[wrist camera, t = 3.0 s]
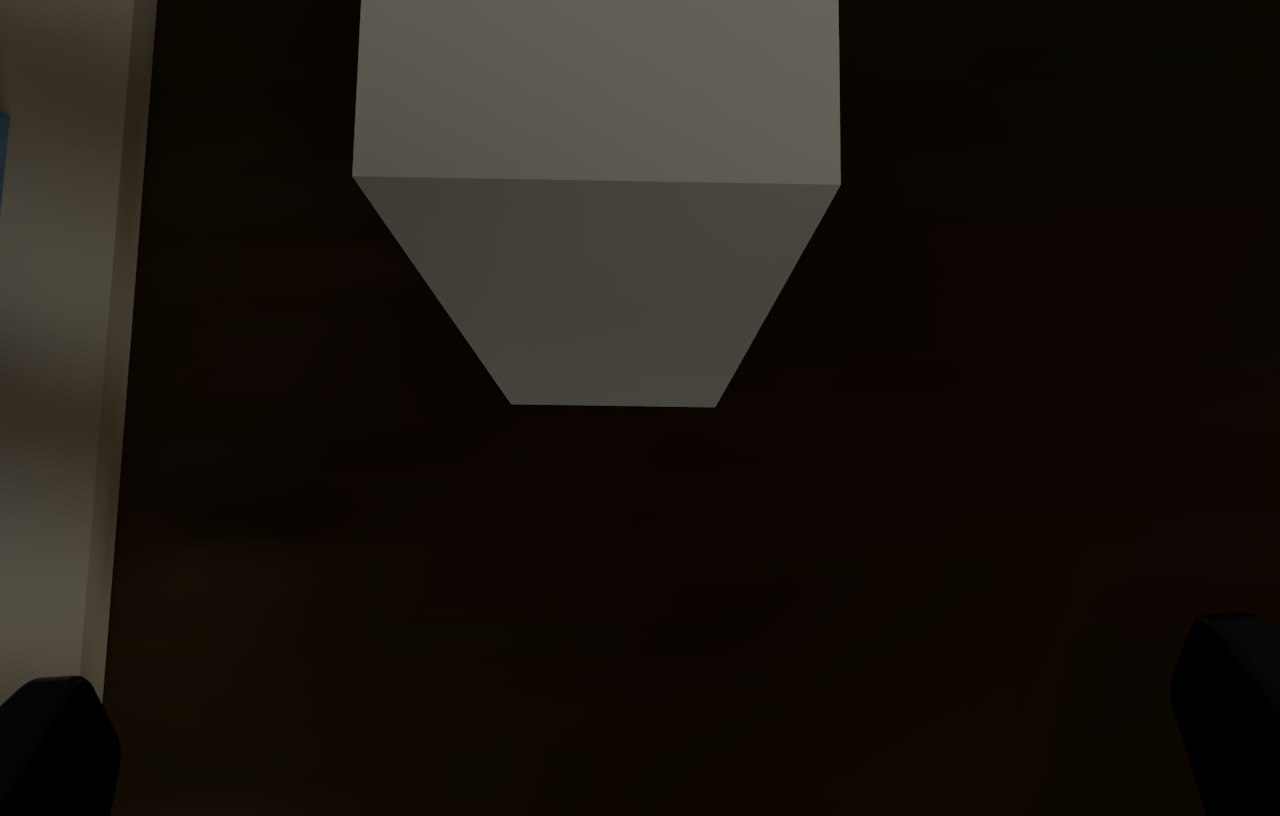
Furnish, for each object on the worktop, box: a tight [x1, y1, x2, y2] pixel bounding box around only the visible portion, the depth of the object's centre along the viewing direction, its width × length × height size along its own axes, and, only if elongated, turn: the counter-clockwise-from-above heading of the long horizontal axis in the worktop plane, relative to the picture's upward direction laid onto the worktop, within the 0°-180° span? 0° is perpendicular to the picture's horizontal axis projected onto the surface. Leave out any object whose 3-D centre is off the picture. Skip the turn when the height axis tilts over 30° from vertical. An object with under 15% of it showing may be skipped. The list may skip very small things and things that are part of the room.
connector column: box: [352, 0, 841, 407], centre depth 16 cm, size 4×4×13 cm
